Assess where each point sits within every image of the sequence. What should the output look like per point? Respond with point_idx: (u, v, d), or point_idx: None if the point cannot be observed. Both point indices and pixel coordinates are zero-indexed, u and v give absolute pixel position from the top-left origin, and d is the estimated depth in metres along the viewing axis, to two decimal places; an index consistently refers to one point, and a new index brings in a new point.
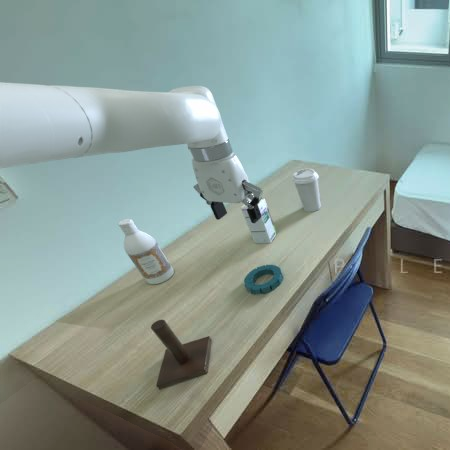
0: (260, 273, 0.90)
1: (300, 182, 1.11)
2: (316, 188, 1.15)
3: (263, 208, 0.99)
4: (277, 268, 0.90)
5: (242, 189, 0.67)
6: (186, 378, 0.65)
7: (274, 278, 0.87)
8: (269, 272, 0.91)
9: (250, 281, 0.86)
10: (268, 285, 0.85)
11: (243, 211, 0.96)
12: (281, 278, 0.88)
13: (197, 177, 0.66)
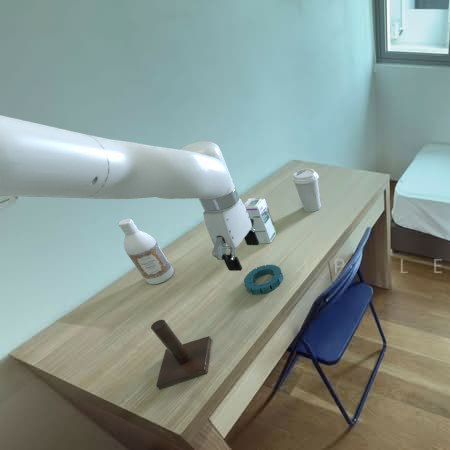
0: (260, 273, 0.90)
1: (300, 182, 1.11)
2: (316, 188, 1.15)
3: (263, 208, 0.99)
4: (277, 268, 0.90)
5: None
6: (186, 378, 0.65)
7: (274, 278, 0.87)
8: (269, 272, 0.91)
9: (250, 281, 0.86)
10: (268, 285, 0.85)
11: None
12: (281, 278, 0.88)
13: None
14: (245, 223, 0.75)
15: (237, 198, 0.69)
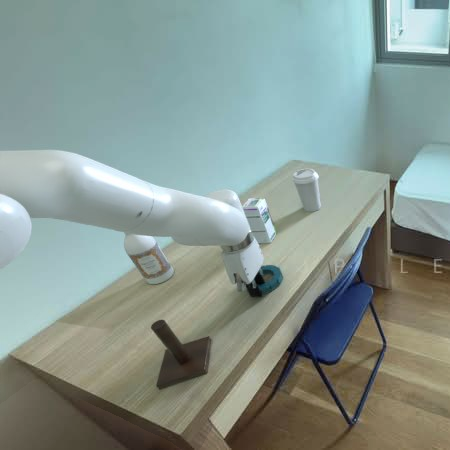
0: None
1: (300, 182, 1.11)
2: (316, 188, 1.15)
3: (263, 208, 0.99)
4: (277, 268, 0.90)
5: (233, 278, 0.75)
6: (186, 378, 0.65)
7: (274, 278, 0.86)
8: (269, 272, 0.91)
9: None
10: (268, 285, 0.84)
11: None
12: (281, 278, 0.88)
13: None
14: (258, 259, 0.81)
15: (252, 238, 0.75)
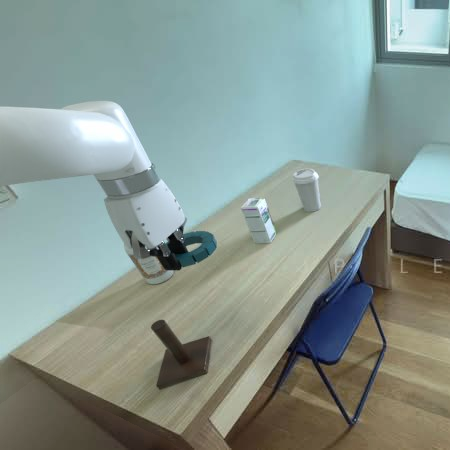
0: (186, 242, 0.66)
1: (300, 182, 1.11)
2: (316, 188, 1.15)
3: (263, 208, 0.99)
4: (209, 235, 0.66)
5: (126, 238, 0.52)
6: (186, 378, 0.65)
7: (201, 247, 0.63)
8: (199, 241, 0.67)
9: None
10: (190, 255, 0.61)
11: (243, 211, 0.96)
12: (212, 248, 0.64)
13: None
14: (172, 215, 0.57)
15: (154, 180, 0.52)
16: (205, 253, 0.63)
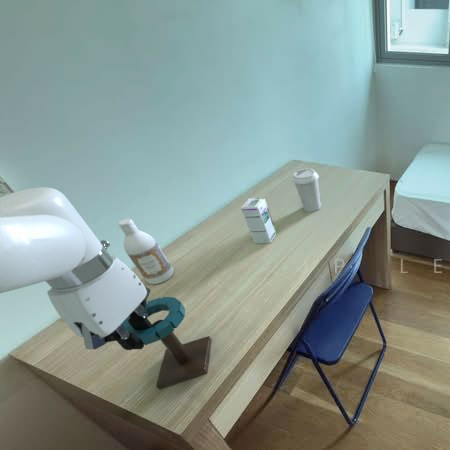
0: (152, 310, 0.62)
1: (300, 182, 1.11)
2: (316, 188, 1.15)
3: (263, 208, 0.99)
4: (176, 303, 0.62)
5: (76, 329, 0.47)
6: (186, 378, 0.65)
7: (166, 320, 0.58)
8: (166, 308, 0.62)
9: (129, 325, 0.58)
10: (153, 332, 0.56)
11: (243, 211, 0.96)
12: (179, 319, 0.60)
13: None
14: (131, 294, 0.53)
15: (106, 266, 0.47)
16: (170, 327, 0.58)
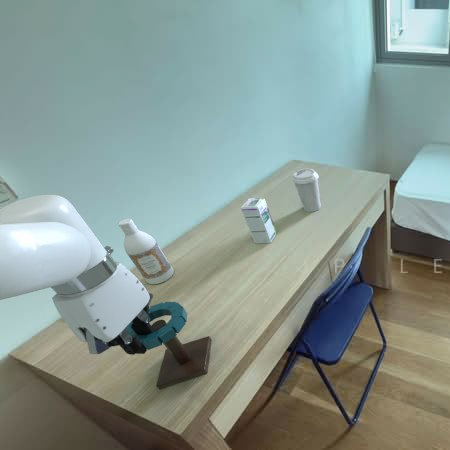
0: (154, 315, 0.62)
1: (300, 182, 1.11)
2: (316, 188, 1.15)
3: (263, 208, 0.99)
4: (179, 308, 0.62)
5: (79, 334, 0.48)
6: (186, 378, 0.65)
7: (168, 325, 0.59)
8: (168, 313, 0.63)
9: (132, 330, 0.58)
10: (155, 337, 0.57)
11: (243, 211, 0.96)
12: (181, 324, 0.60)
13: None
14: (134, 299, 0.53)
15: (110, 271, 0.48)
16: (172, 332, 0.58)
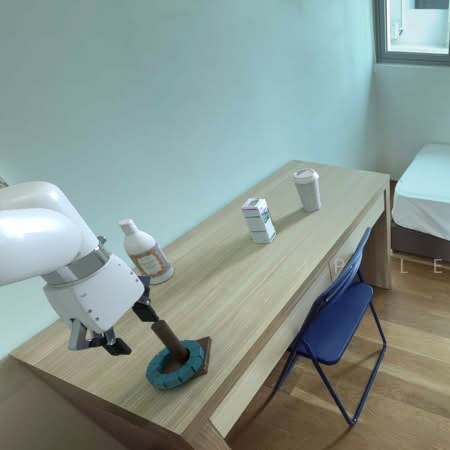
0: None
1: (300, 182, 1.11)
2: (316, 188, 1.15)
3: (263, 208, 0.99)
4: (196, 347, 0.68)
5: (72, 325, 0.47)
6: None
7: (187, 364, 0.64)
8: (187, 351, 0.68)
9: (155, 368, 0.64)
10: (176, 377, 0.62)
11: (243, 211, 0.96)
12: (199, 363, 0.66)
13: None
14: (128, 291, 0.52)
15: (102, 261, 0.47)
16: (191, 371, 0.64)
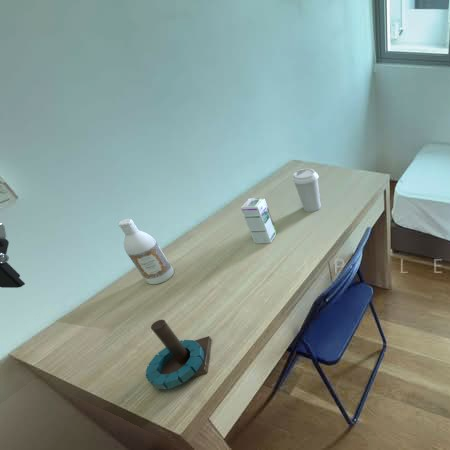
0: None
1: (300, 182, 1.11)
2: (316, 188, 1.15)
3: (263, 208, 0.99)
4: (196, 347, 0.68)
5: None
6: None
7: (187, 364, 0.64)
8: (187, 351, 0.68)
9: (155, 368, 0.64)
10: (176, 377, 0.62)
11: (243, 211, 0.96)
12: (199, 363, 0.66)
13: None
14: None
15: None
16: (191, 371, 0.64)
